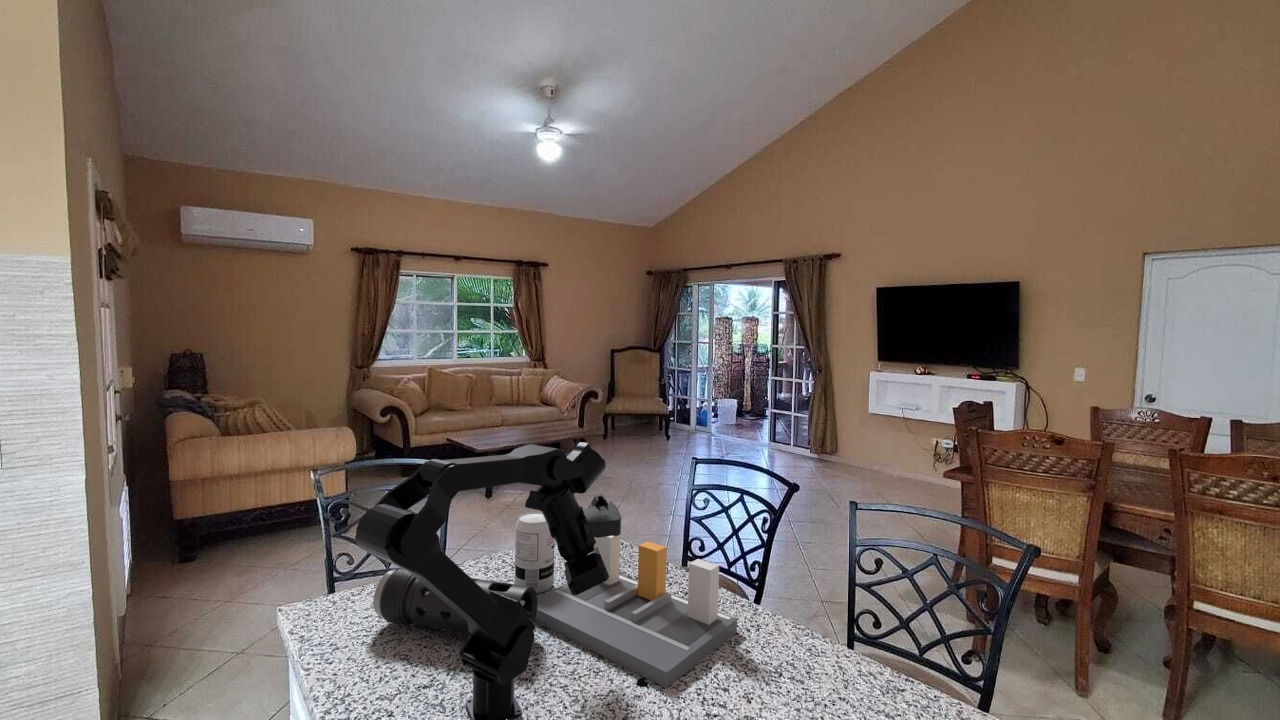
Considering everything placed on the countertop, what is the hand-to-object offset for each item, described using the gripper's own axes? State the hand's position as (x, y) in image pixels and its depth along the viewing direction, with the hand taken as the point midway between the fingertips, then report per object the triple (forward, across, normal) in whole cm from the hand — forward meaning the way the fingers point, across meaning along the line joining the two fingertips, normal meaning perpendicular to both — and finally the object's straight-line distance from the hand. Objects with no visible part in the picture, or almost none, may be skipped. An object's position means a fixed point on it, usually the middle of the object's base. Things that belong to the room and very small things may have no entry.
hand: (593, 581), depth 96 cm
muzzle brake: (+4, +8, +26) cm, 28 cm away
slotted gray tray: (+15, +3, -3) cm, 15 cm away
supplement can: (+14, +22, +13) cm, 29 cm away
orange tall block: (+16, +7, -9) cm, 19 cm away
